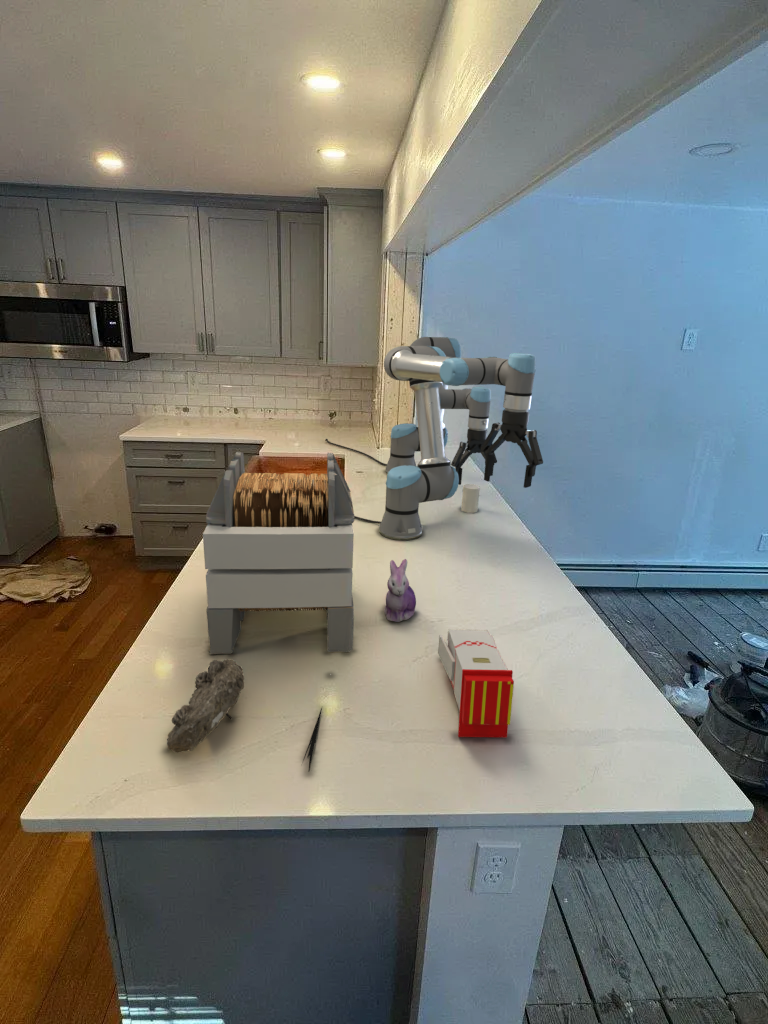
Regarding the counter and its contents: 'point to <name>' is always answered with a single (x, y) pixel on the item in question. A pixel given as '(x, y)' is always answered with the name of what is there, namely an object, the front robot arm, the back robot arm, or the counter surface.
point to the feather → (313, 740)
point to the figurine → (399, 594)
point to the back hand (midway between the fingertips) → (472, 482)
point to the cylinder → (470, 498)
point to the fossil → (206, 705)
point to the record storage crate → (279, 550)
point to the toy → (478, 682)
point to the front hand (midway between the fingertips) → (507, 481)
